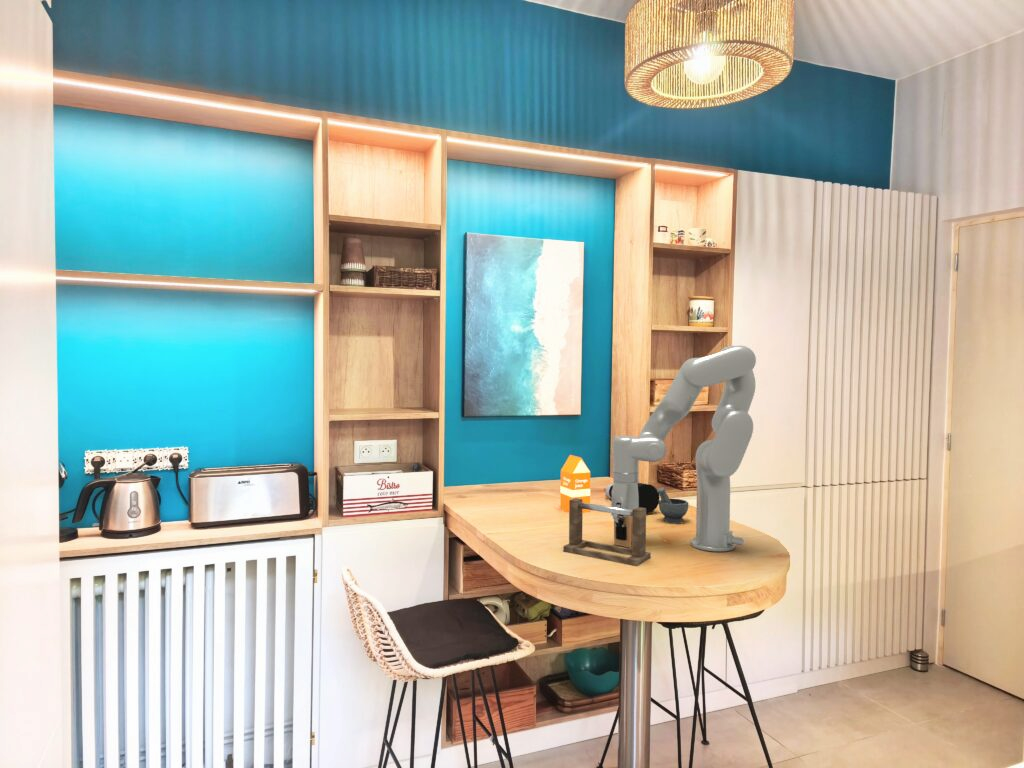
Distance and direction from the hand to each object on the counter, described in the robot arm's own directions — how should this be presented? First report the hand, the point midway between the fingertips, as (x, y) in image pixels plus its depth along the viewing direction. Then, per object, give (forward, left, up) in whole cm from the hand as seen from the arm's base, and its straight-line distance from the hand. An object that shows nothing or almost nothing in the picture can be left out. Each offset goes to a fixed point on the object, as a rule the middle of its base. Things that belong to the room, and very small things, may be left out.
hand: (626, 536), depth 196 cm
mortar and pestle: (-1, -35, -3) cm, 35 cm away
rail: (0, +12, +10) cm, 16 cm away
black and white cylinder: (+23, -49, -3) cm, 54 cm away
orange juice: (+34, -30, -3) cm, 46 cm away
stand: (0, +12, -2) cm, 13 cm away
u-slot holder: (0, 0, -2) cm, 2 cm away
